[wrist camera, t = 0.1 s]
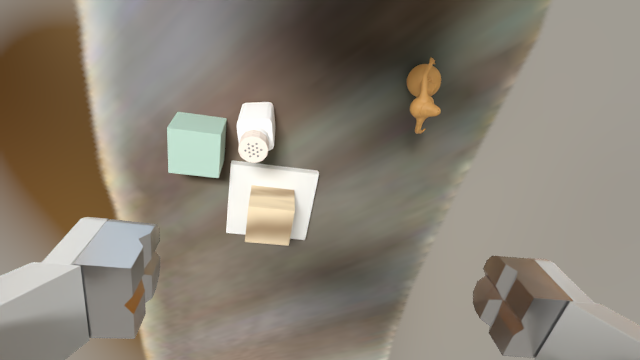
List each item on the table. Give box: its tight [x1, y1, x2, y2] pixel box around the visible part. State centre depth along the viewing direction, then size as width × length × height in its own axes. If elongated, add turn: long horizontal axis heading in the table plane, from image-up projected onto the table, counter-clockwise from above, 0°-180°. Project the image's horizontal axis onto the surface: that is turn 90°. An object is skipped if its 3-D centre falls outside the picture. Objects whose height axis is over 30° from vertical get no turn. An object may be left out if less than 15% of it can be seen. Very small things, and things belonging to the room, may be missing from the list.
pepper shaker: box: [237, 102, 275, 163], centre depth 44 cm, size 4×4×10 cm
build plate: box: [226, 160, 319, 240], centre depth 55 cm, size 12×12×1 cm
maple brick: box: [245, 185, 295, 246], centre depth 52 cm, size 6×6×5 cm
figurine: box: [407, 58, 441, 134], centre depth 42 cm, size 8×6×12 cm
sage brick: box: [167, 112, 227, 178], centre depth 47 cm, size 6×6×5 cm
